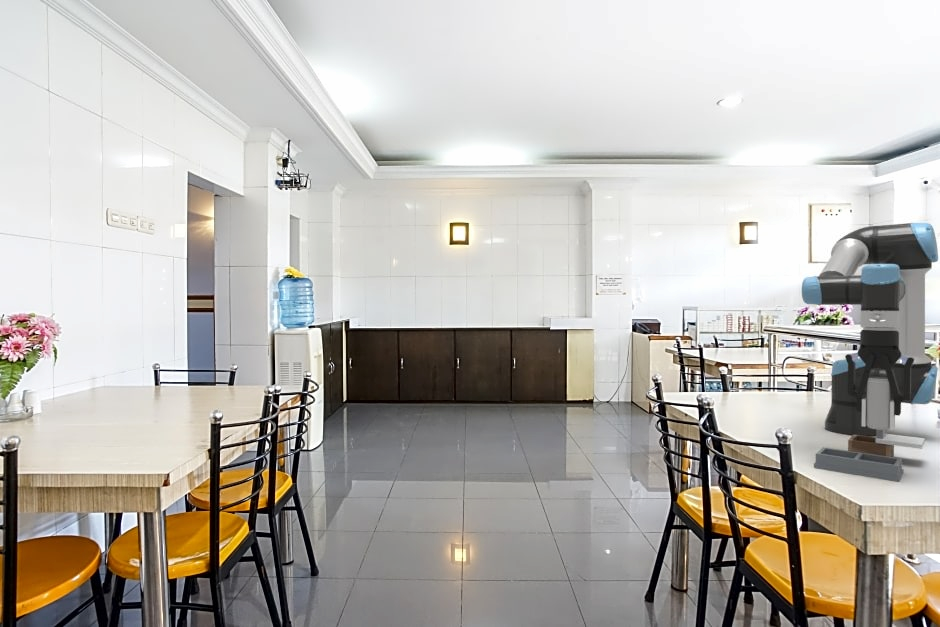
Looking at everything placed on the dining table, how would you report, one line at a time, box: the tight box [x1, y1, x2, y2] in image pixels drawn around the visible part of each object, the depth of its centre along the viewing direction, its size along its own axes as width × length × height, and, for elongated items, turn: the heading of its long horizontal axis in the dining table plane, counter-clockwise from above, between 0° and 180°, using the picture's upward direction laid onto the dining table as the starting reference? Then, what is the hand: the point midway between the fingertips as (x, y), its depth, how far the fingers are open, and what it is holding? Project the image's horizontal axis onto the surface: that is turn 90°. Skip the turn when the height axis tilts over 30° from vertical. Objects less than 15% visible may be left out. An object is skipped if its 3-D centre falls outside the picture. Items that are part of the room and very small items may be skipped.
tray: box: [847, 435, 895, 458], centre depth 153 cm, size 9×9×4 cm
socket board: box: [813, 447, 905, 483], centre depth 140 cm, size 9×17×4 cm, turn 48°
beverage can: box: [866, 377, 891, 431], centre depth 137 cm, size 5×5×12 cm
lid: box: [875, 429, 926, 450], centre depth 149 cm, size 9×9×3 cm
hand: (878, 427), depth 137 cm, fingers closed on beverage can, 5 cm apart
